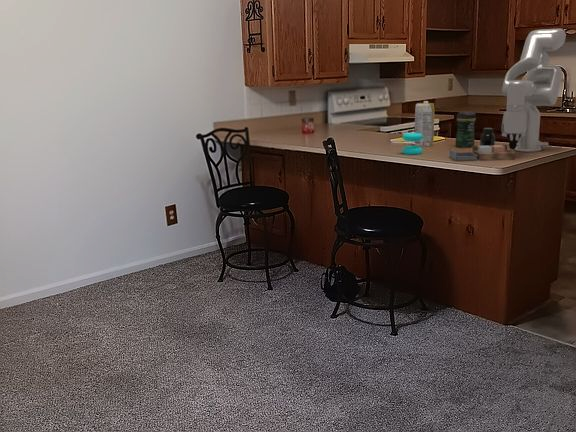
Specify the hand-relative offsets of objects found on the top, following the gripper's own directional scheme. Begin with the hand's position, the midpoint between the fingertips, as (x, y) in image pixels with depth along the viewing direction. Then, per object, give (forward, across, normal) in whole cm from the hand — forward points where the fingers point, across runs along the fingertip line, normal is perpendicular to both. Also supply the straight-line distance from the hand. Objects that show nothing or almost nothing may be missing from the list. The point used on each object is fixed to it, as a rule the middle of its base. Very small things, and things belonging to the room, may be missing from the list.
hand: (512, 148), depth 274 cm
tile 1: (+1, +13, 0) cm, 13 cm away
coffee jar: (+4, +12, -38) cm, 40 cm away
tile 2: (+1, +7, 0) cm, 7 cm away
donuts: (+4, +43, -21) cm, 48 cm away
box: (+4, +23, 0) cm, 23 cm away
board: (+4, +9, 0) cm, 10 cm away
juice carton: (+4, +32, -47) cm, 57 cm away
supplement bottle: (+4, +7, -16) cm, 18 cm away
